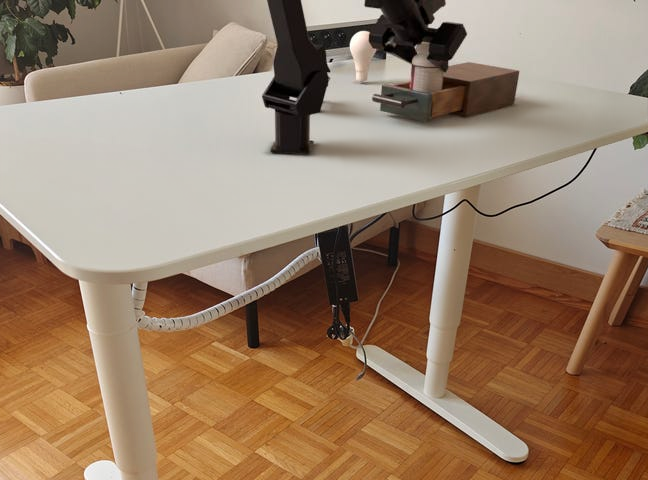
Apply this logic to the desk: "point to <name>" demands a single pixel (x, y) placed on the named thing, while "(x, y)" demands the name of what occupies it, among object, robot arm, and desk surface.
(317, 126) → the desk surface
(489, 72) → the cabinet
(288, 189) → the desk surface
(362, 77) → the lightbulb
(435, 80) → the pill bottle
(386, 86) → the drawer
